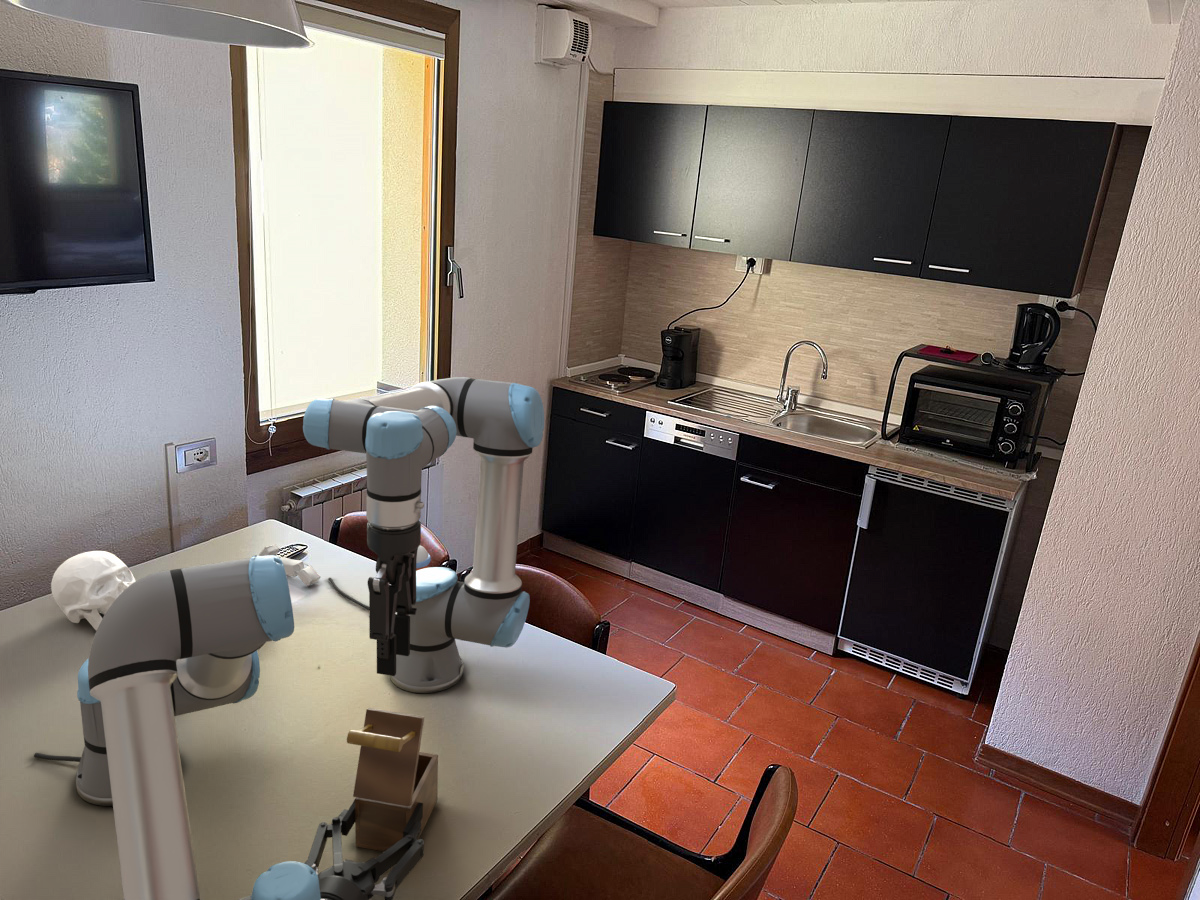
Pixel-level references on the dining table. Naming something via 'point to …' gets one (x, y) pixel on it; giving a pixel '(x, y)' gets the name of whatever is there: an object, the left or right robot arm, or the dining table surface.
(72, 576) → the skull
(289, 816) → the dining table surface
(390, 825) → the chest
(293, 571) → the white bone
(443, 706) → the dining table surface
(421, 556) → the cup with straw
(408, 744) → the lid
